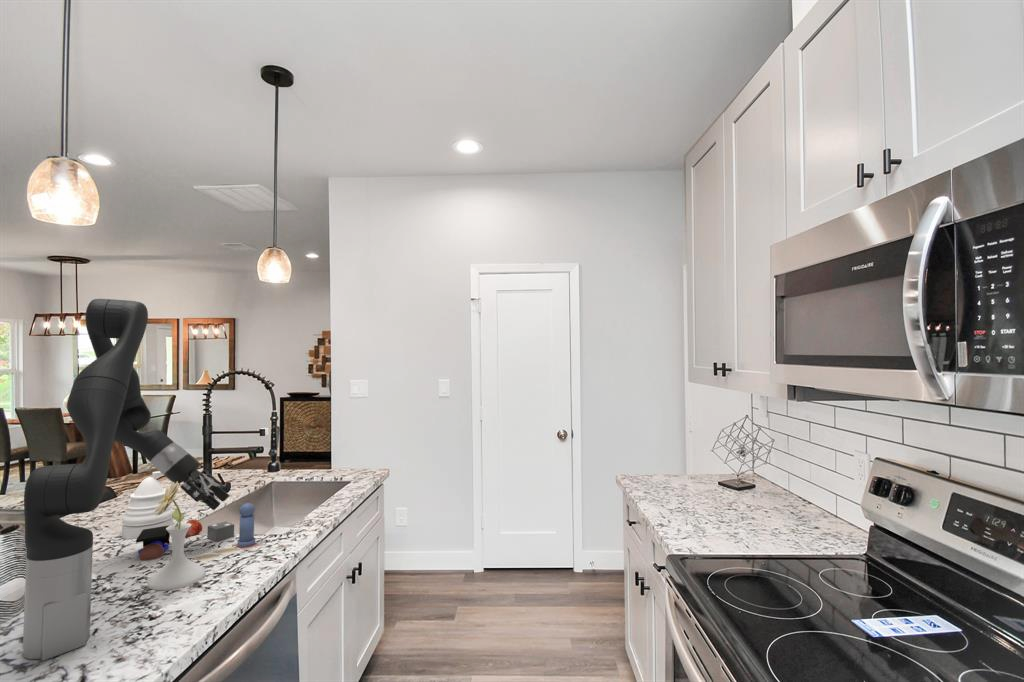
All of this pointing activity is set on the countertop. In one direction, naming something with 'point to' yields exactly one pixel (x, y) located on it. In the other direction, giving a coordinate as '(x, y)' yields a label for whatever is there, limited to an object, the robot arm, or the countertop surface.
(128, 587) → the countertop surface
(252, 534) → the pawn
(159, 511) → the flower in vase
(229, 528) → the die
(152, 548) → the figurine character
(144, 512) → the honey pot
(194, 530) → the pomegranate
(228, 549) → the board
